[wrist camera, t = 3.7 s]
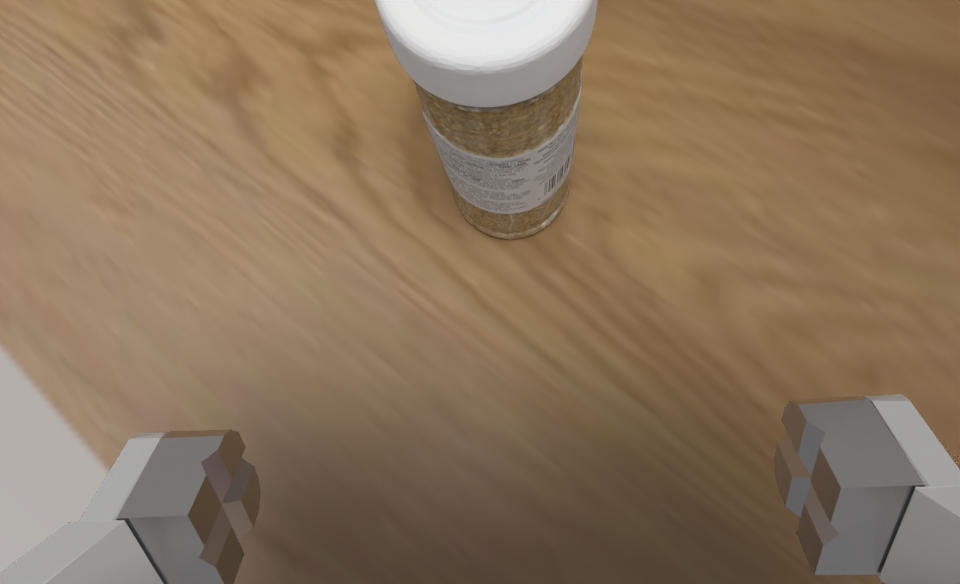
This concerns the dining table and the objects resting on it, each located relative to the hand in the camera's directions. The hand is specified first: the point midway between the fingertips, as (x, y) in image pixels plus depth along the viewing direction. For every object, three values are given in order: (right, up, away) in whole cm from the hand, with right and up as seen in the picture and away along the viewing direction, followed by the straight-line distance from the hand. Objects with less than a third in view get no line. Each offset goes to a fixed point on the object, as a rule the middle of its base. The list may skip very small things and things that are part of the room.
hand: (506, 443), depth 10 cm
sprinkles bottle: (+1, +6, +16) cm, 17 cm away
